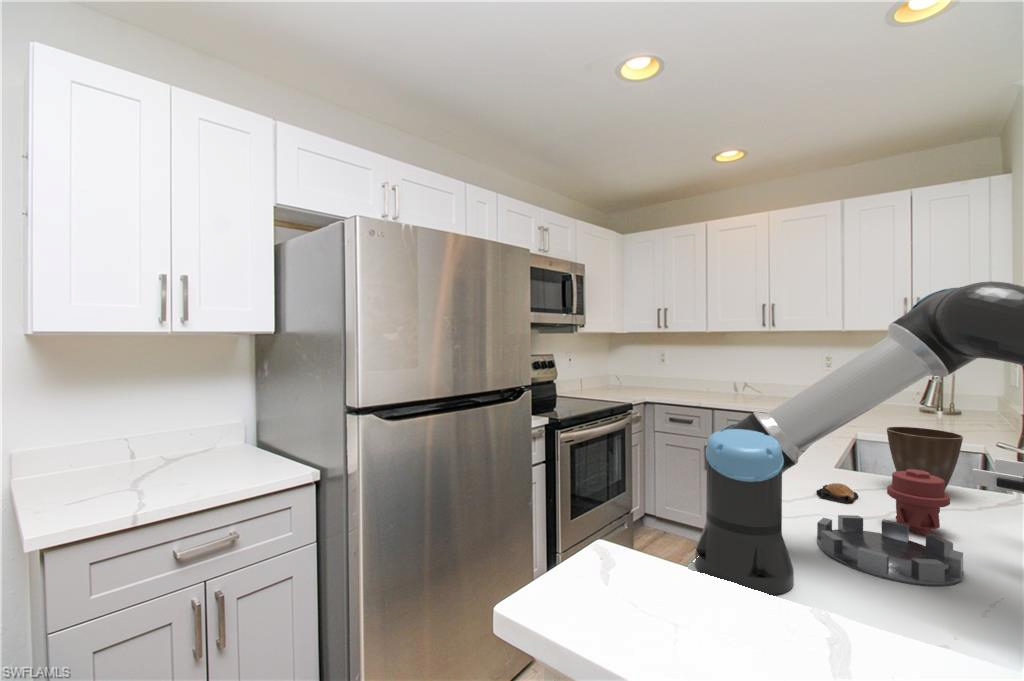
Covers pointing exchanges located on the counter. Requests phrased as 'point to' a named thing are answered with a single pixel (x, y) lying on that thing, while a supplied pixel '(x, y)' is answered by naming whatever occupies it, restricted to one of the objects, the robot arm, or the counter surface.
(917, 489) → the mechanical component
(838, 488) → the bread roll
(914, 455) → the plant pot
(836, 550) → the castellated collar
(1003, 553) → the counter surface
